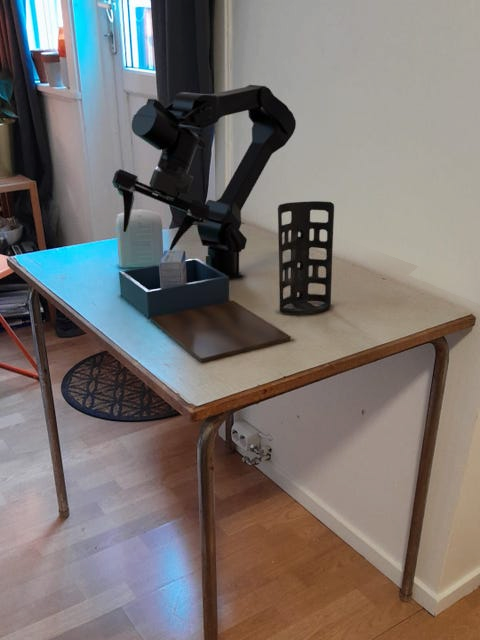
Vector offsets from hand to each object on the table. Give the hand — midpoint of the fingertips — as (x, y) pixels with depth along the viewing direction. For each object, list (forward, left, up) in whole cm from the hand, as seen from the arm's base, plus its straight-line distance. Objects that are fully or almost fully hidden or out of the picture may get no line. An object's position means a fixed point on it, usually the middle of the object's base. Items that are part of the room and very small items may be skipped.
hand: (147, 241), depth 125 cm
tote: (-4, +2, -12) cm, 13 cm away
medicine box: (-4, +2, -12) cm, 13 cm away
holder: (-24, +18, -12) cm, 33 cm away
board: (-4, +20, -12) cm, 23 cm away
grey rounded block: (-7, -21, -12) cm, 26 cm away
